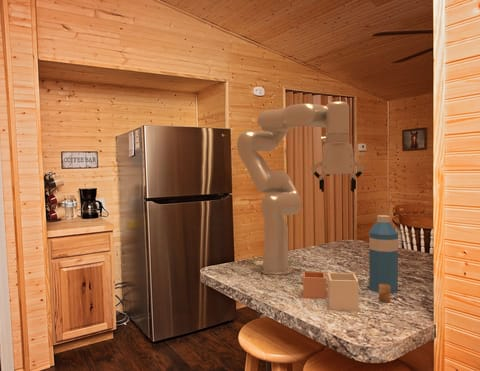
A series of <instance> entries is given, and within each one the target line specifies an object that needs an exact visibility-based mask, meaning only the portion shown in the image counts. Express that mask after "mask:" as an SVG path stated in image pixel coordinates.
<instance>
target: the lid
mask: <svg viewBox="0 0 480 371" xmlns="http://www.w3.org/2000/svg"><path fill="white" fill-rule="evenodd" d="M378 301H379V302H380V303H385V304H388V303H390V302H391V293H390V285H388V284H379V292H378Z"/></svg>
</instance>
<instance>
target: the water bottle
mask: <svg viewBox="0 0 480 371" xmlns="http://www.w3.org/2000/svg"><path fill="white" fill-rule="evenodd" d="M390 218H391V216H390V215H386V214H385V215H384V214H382V215H381V214H380V215H378V214H377V215H376V222H375V223H374V224H373V226H372V227H371V229H370V230H369V236H368V238H369V239H368V240H369V242H368V243H369V244H368V245H369V246H368V247H369V248H368V250H369V252H368V253H369V254H368V256H369V257H368V258H369V264H368V266H369V269H368V272H369V273H368V274H369V277H368V279H369V281H368V282H369V283H368V284H369V290H372V291H374V292H377V293H379V284H388V285H390V294H391V293H395V292H398V291H399V287H398V285H399V282H398V281H399V276H398V275H399V262H398V261H399V233H398V232H397V231H396V229H395V227H394V226H393V224H392V223H391V219H390Z"/></svg>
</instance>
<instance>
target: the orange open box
mask: <svg viewBox="0 0 480 371" xmlns="http://www.w3.org/2000/svg"><path fill="white" fill-rule="evenodd" d="M302 291H303V292H302V298H303V299H319V300H320V299H321V300H323V299H325V300H326V299H327V277H326V272H325V271H302Z"/></svg>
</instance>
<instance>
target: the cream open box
mask: <svg viewBox="0 0 480 371" xmlns="http://www.w3.org/2000/svg"><path fill="white" fill-rule="evenodd" d="M359 290H360V289H359V280H358V278H357V275H356V273H351V272H349V273H348V272H327V302H328V308H329V310H333V311H334V310H339V311H355V312H356V311H357V312H358V311H360V310H359V303H360V302H359V299H360V298H359V293H360V292H359Z"/></svg>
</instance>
